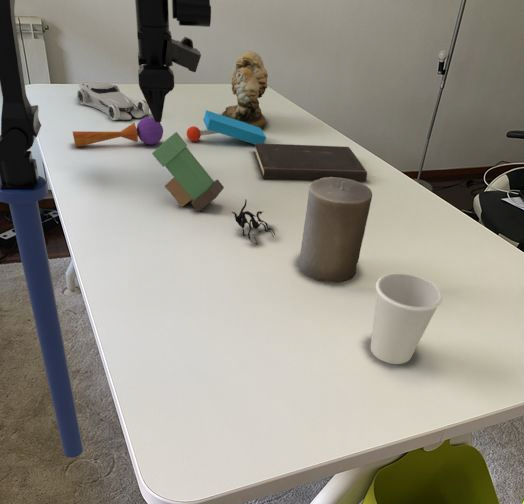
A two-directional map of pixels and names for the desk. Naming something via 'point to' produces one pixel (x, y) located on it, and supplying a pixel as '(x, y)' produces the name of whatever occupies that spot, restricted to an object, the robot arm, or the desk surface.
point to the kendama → (124, 133)
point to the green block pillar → (186, 174)
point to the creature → (242, 220)
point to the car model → (110, 101)
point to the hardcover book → (308, 162)
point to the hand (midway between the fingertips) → (157, 114)
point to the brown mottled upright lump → (248, 90)
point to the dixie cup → (402, 315)
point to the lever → (227, 129)
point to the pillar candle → (334, 229)
